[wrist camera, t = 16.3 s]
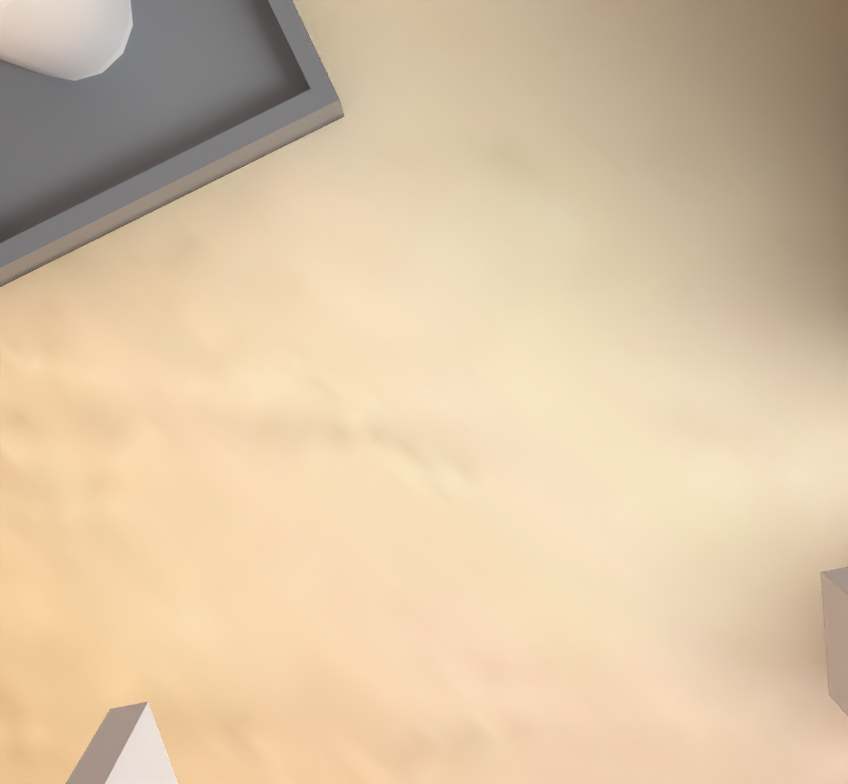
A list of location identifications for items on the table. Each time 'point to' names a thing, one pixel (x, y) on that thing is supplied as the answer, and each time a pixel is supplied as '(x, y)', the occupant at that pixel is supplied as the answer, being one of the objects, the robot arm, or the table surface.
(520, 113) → the table surface
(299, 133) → the tray
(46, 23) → the foam cup
